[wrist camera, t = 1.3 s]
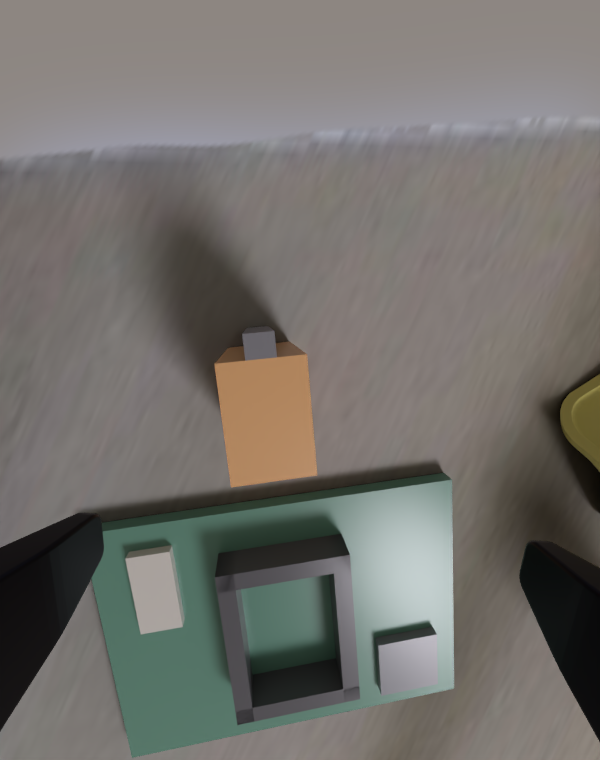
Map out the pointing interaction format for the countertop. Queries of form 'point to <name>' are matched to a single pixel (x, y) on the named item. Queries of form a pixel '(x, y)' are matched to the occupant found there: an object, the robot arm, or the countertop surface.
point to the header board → (277, 609)
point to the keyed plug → (266, 410)
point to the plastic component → (583, 419)
